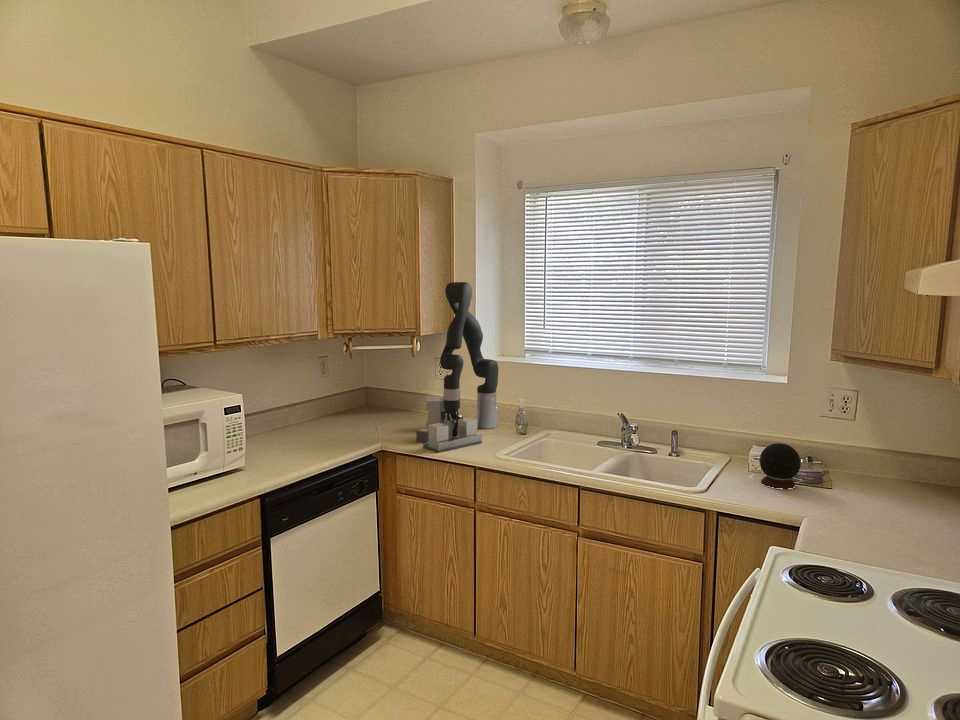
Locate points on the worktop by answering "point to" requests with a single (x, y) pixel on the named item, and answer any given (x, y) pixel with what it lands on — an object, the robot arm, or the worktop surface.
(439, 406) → the circuit breaker
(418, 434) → the block
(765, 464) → the black ball on stand
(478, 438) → the grey slotted holder
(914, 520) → the worktop surface
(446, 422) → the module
